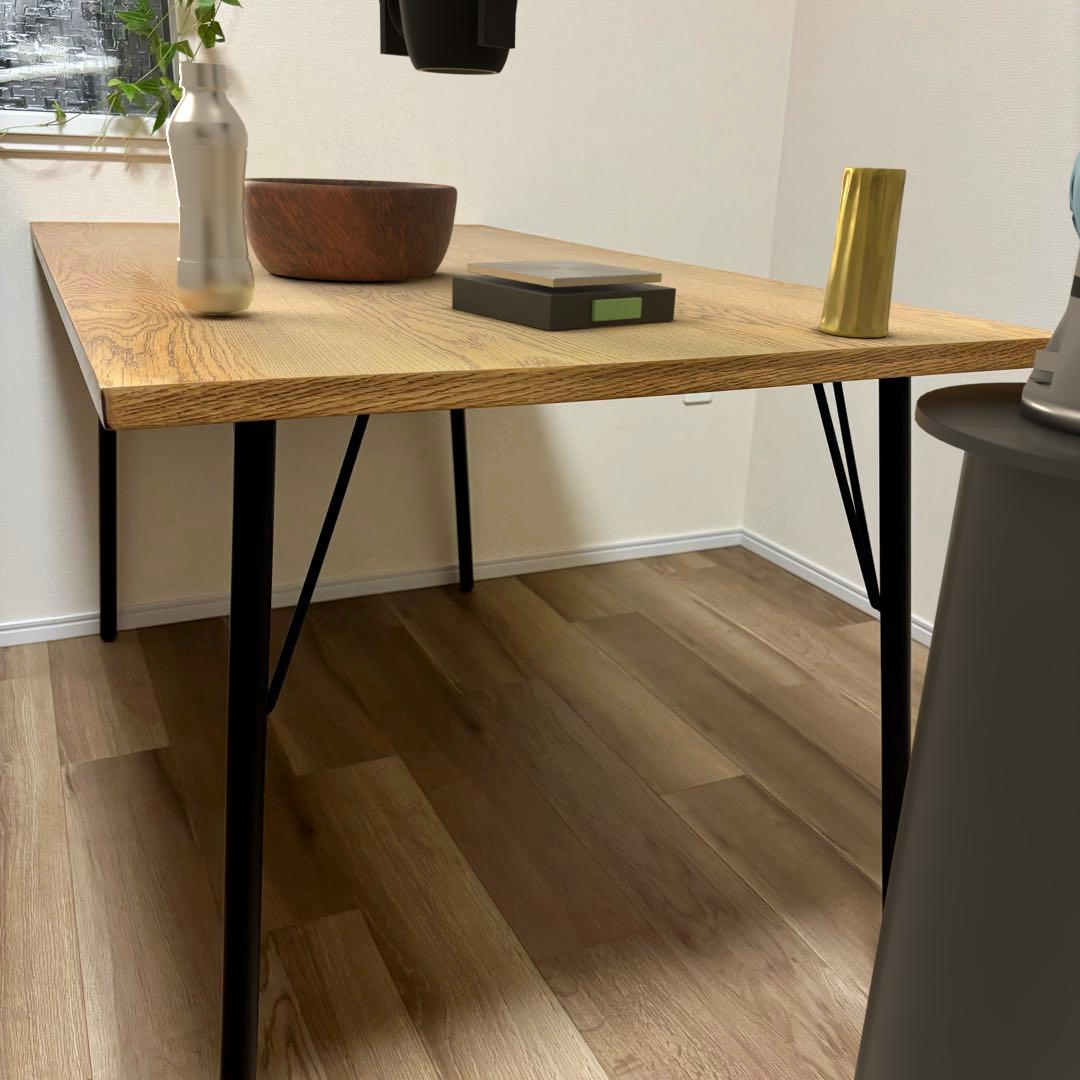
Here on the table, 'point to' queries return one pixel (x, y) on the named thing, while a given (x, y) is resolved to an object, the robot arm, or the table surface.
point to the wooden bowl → (348, 227)
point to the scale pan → (564, 273)
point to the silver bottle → (210, 194)
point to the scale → (563, 303)
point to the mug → (445, 37)
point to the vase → (864, 253)
